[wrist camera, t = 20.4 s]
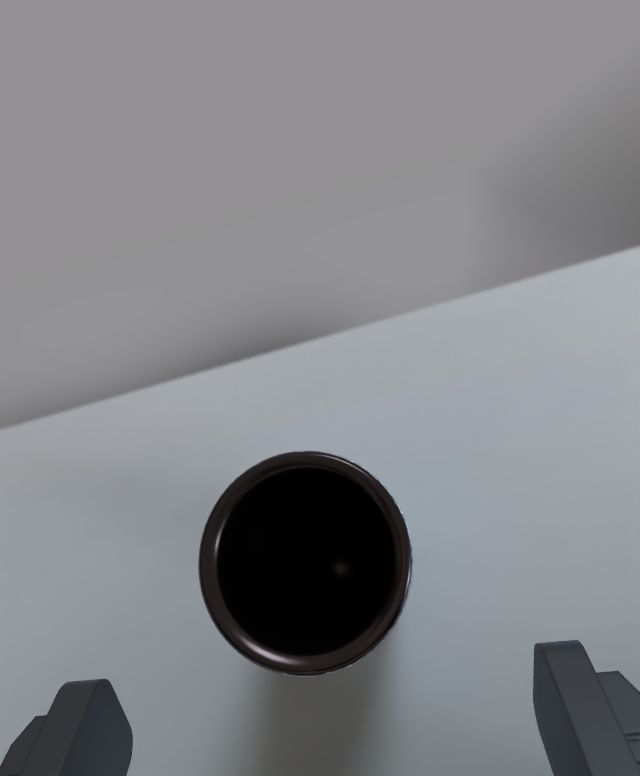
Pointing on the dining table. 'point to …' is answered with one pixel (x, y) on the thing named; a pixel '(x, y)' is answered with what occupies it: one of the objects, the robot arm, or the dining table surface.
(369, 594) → the white and black tumbler
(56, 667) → the dining table surface
